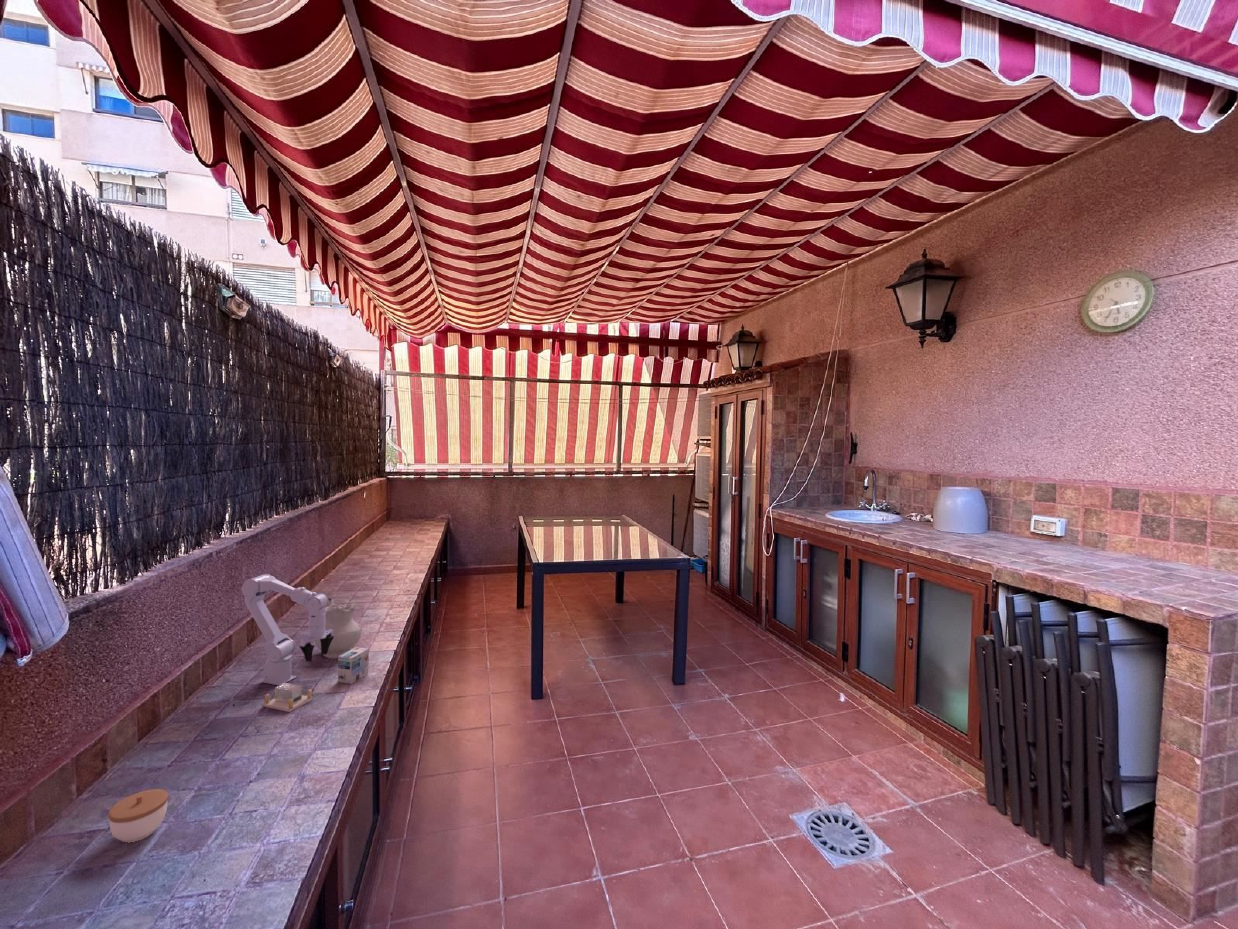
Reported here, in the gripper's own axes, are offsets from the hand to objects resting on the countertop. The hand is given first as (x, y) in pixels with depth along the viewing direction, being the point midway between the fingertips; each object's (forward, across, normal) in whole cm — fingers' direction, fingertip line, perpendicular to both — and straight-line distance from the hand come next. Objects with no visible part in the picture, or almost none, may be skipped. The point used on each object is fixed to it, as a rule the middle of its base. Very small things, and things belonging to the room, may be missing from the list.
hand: (316, 657), depth 209 cm
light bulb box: (+10, +8, -11) cm, 17 cm away
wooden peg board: (+10, -17, -5) cm, 20 cm away
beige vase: (+10, +26, +16) cm, 32 cm away
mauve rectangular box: (+9, -17, -5) cm, 20 cm away
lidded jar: (+10, -78, -28) cm, 83 cm away
